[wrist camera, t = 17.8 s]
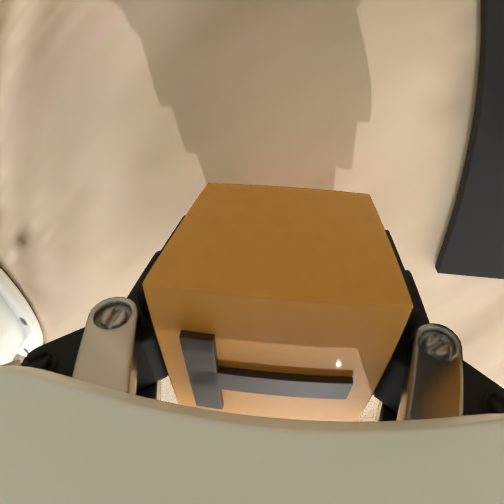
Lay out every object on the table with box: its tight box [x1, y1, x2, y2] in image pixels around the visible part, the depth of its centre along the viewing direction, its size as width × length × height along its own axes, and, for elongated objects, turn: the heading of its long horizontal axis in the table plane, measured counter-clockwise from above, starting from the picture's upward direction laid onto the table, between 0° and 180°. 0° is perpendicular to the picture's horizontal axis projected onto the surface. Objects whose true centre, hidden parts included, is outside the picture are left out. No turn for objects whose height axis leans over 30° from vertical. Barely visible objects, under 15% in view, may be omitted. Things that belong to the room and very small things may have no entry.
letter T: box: [143, 183, 413, 422], centre depth 9 cm, size 5×5×5 cm
